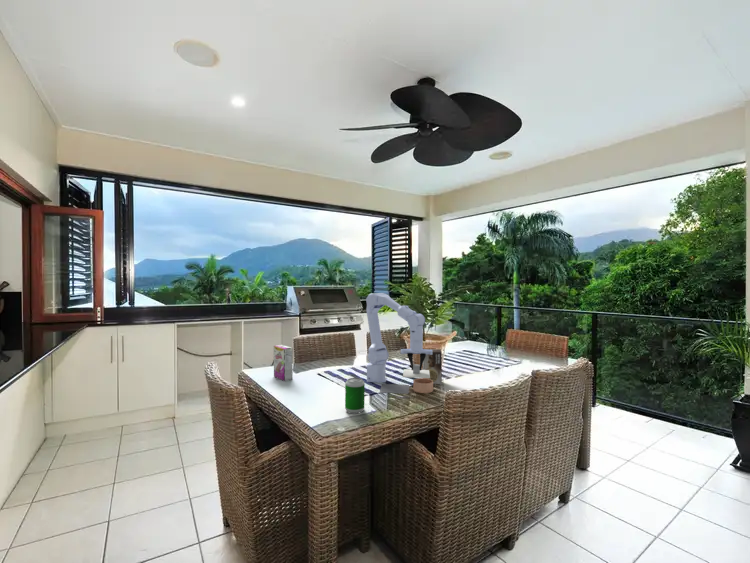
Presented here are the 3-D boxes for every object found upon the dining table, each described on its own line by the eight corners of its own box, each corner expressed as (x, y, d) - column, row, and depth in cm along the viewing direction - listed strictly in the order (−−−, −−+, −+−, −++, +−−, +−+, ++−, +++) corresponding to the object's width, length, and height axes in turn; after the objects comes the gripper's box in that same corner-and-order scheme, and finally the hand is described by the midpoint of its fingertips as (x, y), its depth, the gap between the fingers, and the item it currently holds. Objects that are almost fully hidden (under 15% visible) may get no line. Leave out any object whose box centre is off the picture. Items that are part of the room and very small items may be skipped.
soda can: (368, 410, 137) (368, 379, 137) (354, 416, 131) (354, 384, 131) (354, 405, 142) (354, 376, 142) (341, 410, 136) (341, 380, 136)
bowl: (413, 393, 157) (413, 383, 157) (413, 387, 166) (413, 377, 166) (433, 394, 156) (433, 384, 156) (432, 388, 165) (432, 378, 165)
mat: (379, 393, 157) (379, 392, 157) (382, 384, 170) (382, 383, 170) (408, 394, 155) (408, 393, 155) (409, 385, 168) (409, 384, 168)
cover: (402, 377, 156) (402, 368, 156) (403, 370, 168) (403, 361, 168) (430, 378, 155) (430, 368, 155) (429, 371, 167) (429, 362, 167)
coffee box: (440, 381, 176) (441, 349, 176) (441, 385, 170) (442, 351, 170) (422, 380, 177) (422, 348, 177) (422, 384, 171) (423, 351, 171)
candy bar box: (273, 377, 182) (273, 345, 182) (281, 375, 186) (281, 344, 186) (284, 381, 174) (284, 348, 174) (293, 379, 178) (293, 347, 178)
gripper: (400, 341, 158) (400, 371, 158) (432, 342, 156) (432, 372, 156) (400, 338, 165) (400, 367, 165) (432, 339, 163) (432, 368, 163)
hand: (416, 369), depth 161 cm, fingers closed on cover, 3 cm apart
